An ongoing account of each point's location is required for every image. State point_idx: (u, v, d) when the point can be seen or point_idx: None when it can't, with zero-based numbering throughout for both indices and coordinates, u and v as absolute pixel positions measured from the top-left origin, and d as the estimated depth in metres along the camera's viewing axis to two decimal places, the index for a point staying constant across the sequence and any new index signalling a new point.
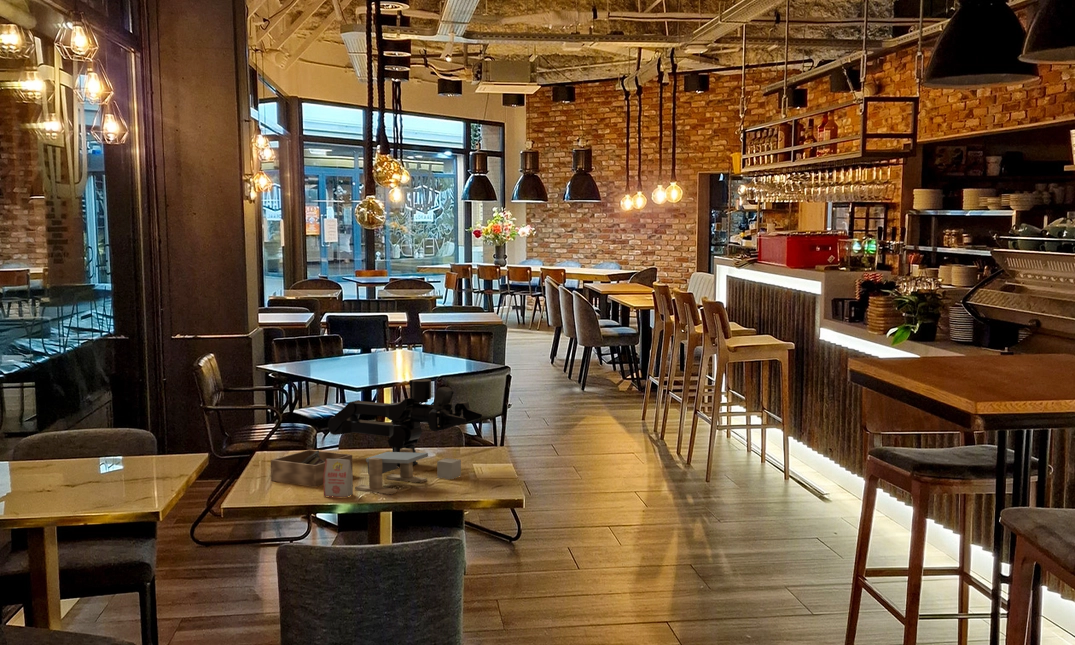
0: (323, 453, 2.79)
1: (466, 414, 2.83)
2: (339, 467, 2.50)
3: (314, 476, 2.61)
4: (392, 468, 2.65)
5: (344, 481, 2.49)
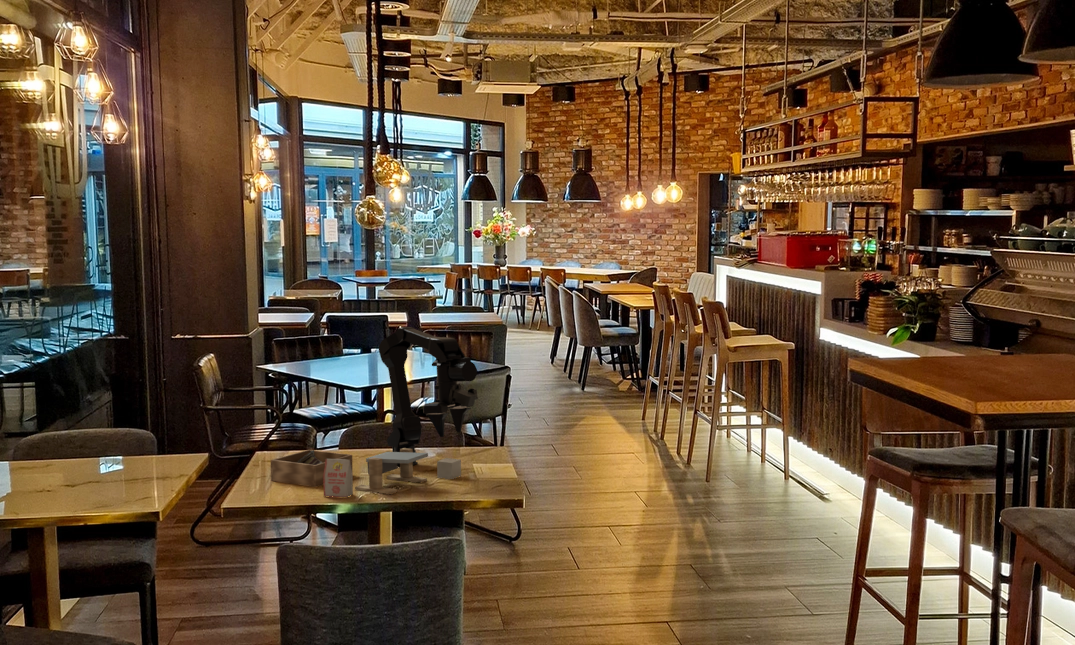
0: (323, 453, 2.79)
1: (458, 413, 2.77)
2: (339, 467, 2.50)
3: (314, 476, 2.61)
4: (392, 468, 2.65)
5: (344, 481, 2.49)
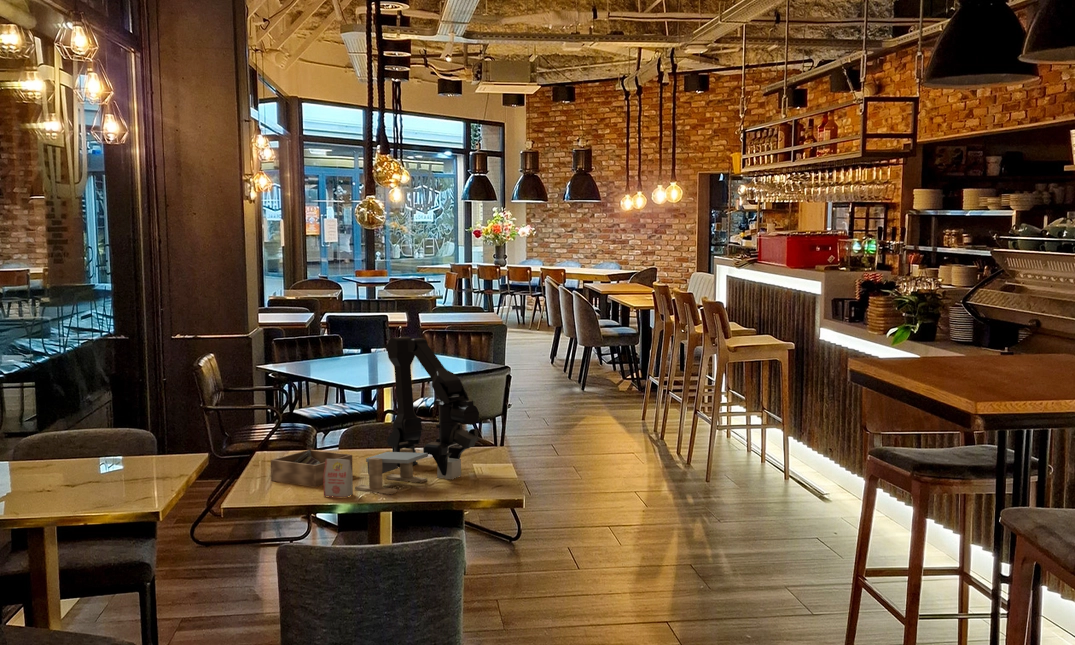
0: (323, 453, 2.79)
1: (454, 452, 2.75)
2: (339, 467, 2.50)
3: (314, 476, 2.61)
4: (392, 468, 2.65)
5: (344, 481, 2.49)
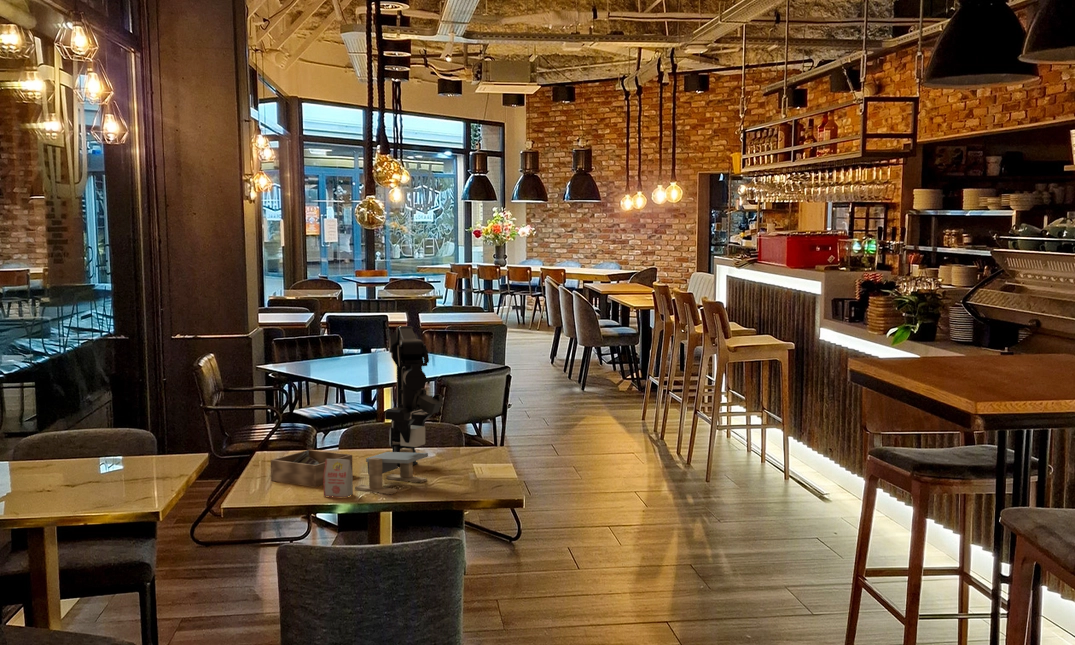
0: (323, 453, 2.79)
1: (418, 419, 2.63)
2: (339, 467, 2.50)
3: (314, 476, 2.61)
4: (392, 468, 2.65)
5: (344, 481, 2.49)
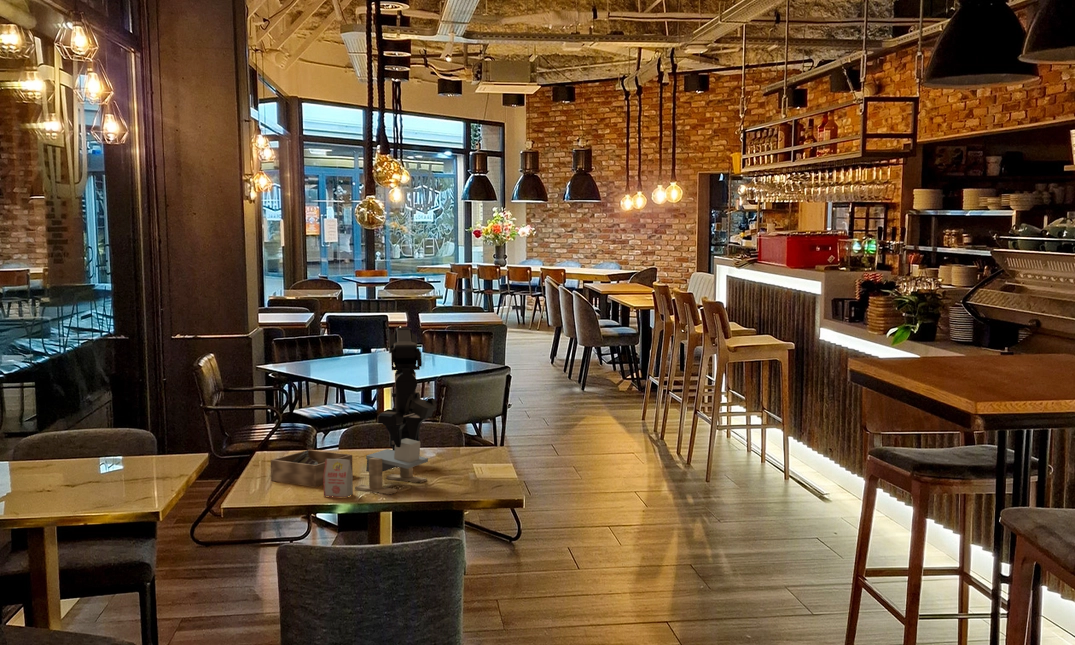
0: (323, 453, 2.79)
1: (413, 422, 2.63)
2: (339, 467, 2.50)
3: (314, 476, 2.61)
4: (390, 467, 2.65)
5: (344, 481, 2.49)
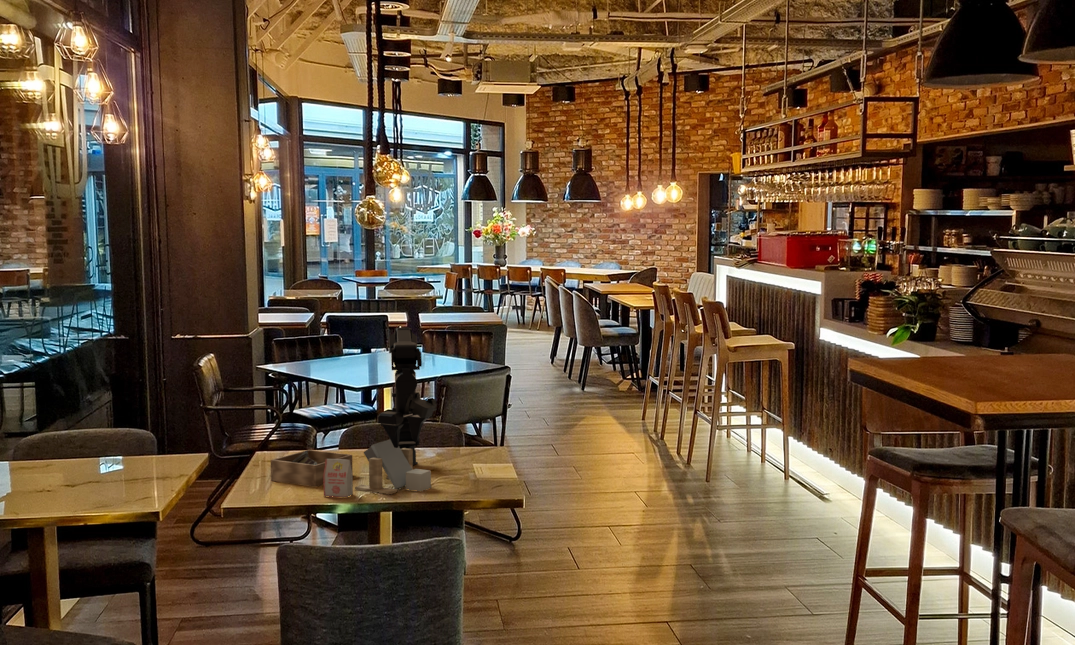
0: (323, 453, 2.79)
1: (415, 422, 2.64)
2: (339, 467, 2.50)
3: (314, 476, 2.61)
4: None
5: (344, 481, 2.49)
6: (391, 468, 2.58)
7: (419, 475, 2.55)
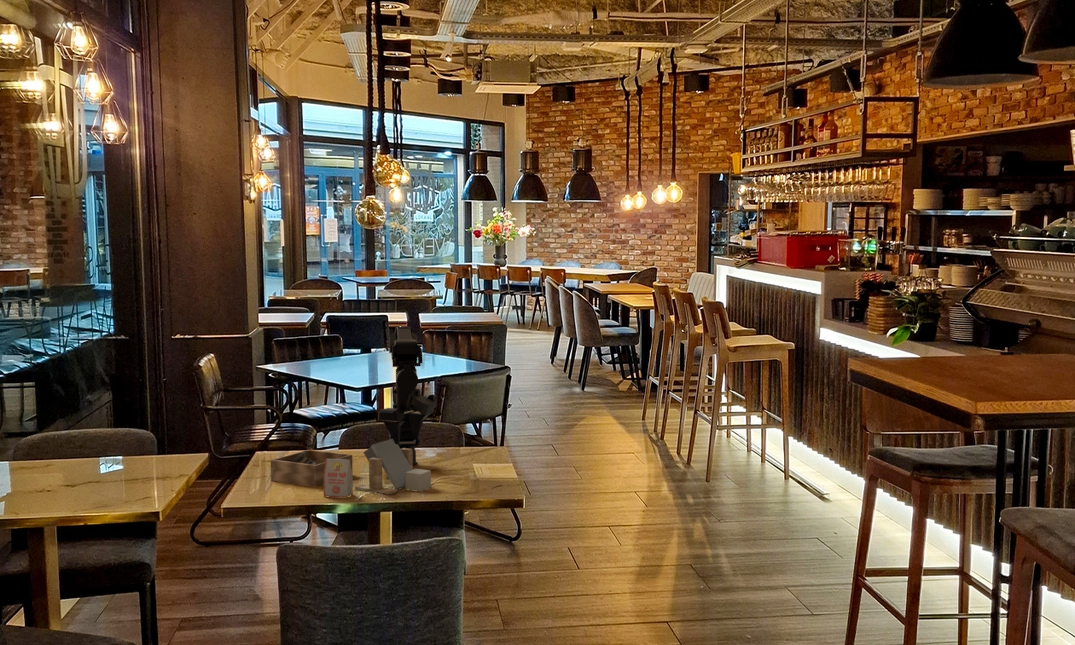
0: (323, 453, 2.79)
1: (416, 418, 2.64)
2: (339, 467, 2.50)
3: (314, 476, 2.61)
4: None
5: (344, 481, 2.49)
6: (391, 468, 2.58)
7: (419, 475, 2.55)
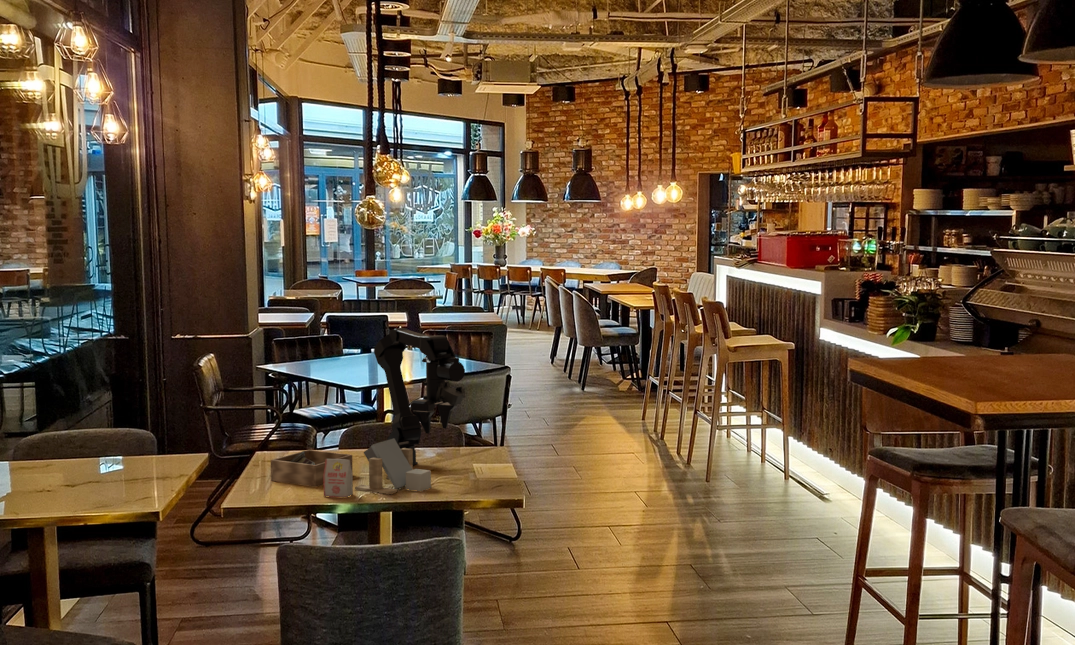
0: (323, 453, 2.79)
1: (445, 409, 2.79)
2: (339, 467, 2.50)
3: (314, 476, 2.61)
4: None
5: (344, 481, 2.49)
6: (391, 468, 2.58)
7: (419, 475, 2.55)
